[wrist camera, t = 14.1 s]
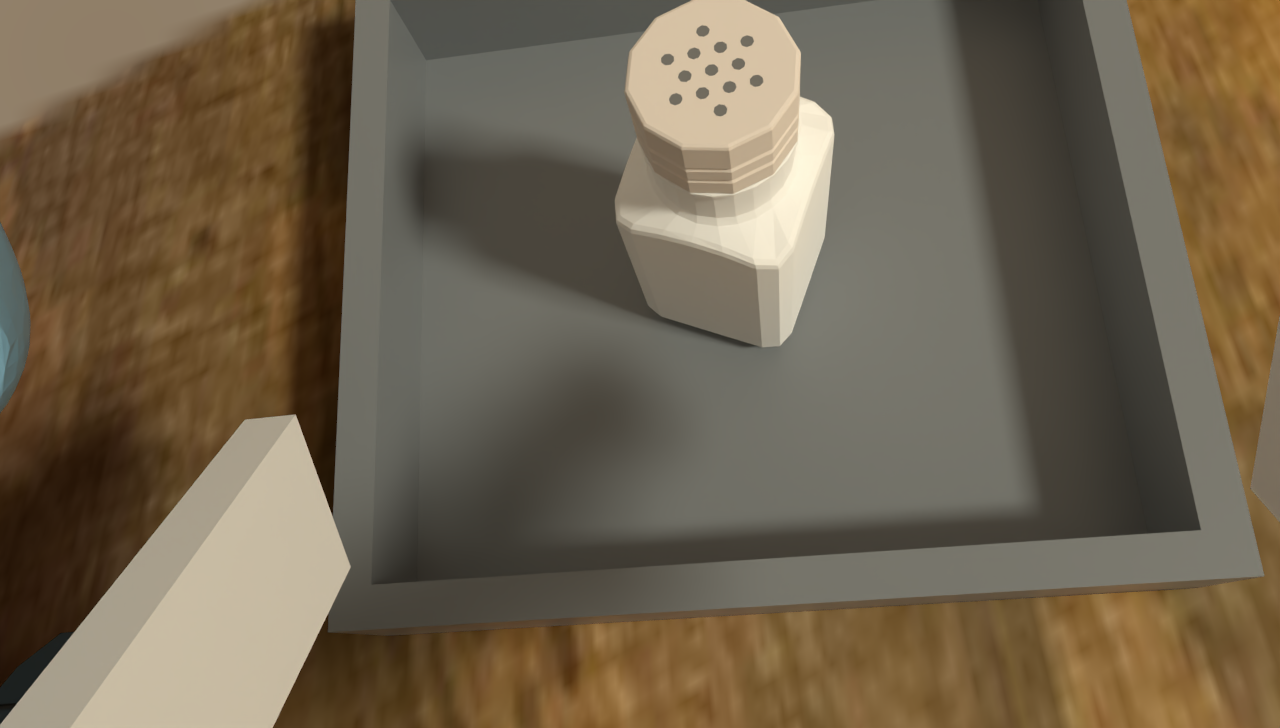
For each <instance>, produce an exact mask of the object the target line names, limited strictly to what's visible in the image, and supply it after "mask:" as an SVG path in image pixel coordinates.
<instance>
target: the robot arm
mask: <svg viewBox="0 0 1280 728" xmlns="http://www.w3.org/2000/svg"><path fill="white" fill-rule="evenodd" d="M29 343H30V312H29V306H28V301H27V295H26V289H25V285H24V280H23V277H22V274H21V270H20V267H19V265H18V262H17V259H16V257H15V254H14V252H13V249H12V247H11V244H10V242H9V240H8V238H7V236H6V233H5V231H4V229H3V227H2V225H1V223H0V413H1V411H2V410H3V409H4V407H5V406H6V405H7V403H8V402H9V400H10V398H11V396H12V395H13V393H14V391H15V389H16V387H17V384H18V382H19V379H20V377H21V375H22V372H23V370H24V367H25V363H26V359H27V355H28V350H29ZM1250 489H1251V490H1252V491H1253V492H1254V493H1255V495H1256V496H1257V497H1258V498H1259V499H1260V500H1261V501H1262V502H1263V504H1264V505H1265V506H1266V507H1267V508H1268V509H1269V510H1270V512H1271V513H1272V514H1273V515H1274V516H1275V517H1276V518H1277V520H1278V521H1279V522H1280V317H1279V323H1278V329H1277V335H1276V341H1275V347H1274V353H1273V359H1272V364H1271V370H1270V376H1269V382H1268V388H1267V394H1266V400H1265V406H1264V411H1263V417H1262V423H1261V429H1260V435H1259V441H1258V447H1257V453H1256V458H1255V464H1254V470H1253V476H1252V482H1251V488H1250ZM350 568H351V566H350V564H349V561H348V558H347V555H346V553H345V550H344V547H343V544H342V541H341V539H340V536H339V533H338V530H337V528H336V525H335V522H334V519H333V517H332V514H331V511H330V508H329V505H328V503H327V500H326V497H325V494H324V492H323V489H322V486H321V483H320V481H319V478H318V475H317V472H316V469H315V467H314V464H313V461H312V458H311V456H310V453H309V450H308V447H307V445H306V442H305V439H304V436H303V433H302V431H301V428H300V425H299V422H298V420H297V417H296V414H295V415H286V416H276V417H267V418H258V419H248V420H244V421H243V423H242V424H241V425H240V426H239V428H238V429H237V430H236V431H235V433H234V434H233V435H232V436H231V438H230V439H229V440H228V441H227V443H226V444H225V445H224V446H223V448H222V449H221V450H220V451H219V453H218V454H217V455H216V456H215V458H214V459H213V460H212V461H211V463H210V464H209V465H208V466H207V468H206V469H205V470H204V471H203V473H202V474H201V475H200V476H199V477H198V479H197V480H196V481H195V482H194V484H193V485H192V486H191V487H190V489H189V490H188V491H187V492H186V494H185V495H184V496H183V497H182V499H181V500H180V501H179V502H178V504H177V505H176V506H175V507H174V509H173V510H172V511H171V512H170V514H169V515H168V516H167V517H166V519H165V520H164V521H163V522H162V524H161V525H160V526H159V527H158V529H157V530H156V531H155V532H154V534H153V535H152V536H151V537H150V539H149V540H148V541H147V542H146V544H145V545H144V546H143V547H142V549H141V550H140V551H139V552H138V554H137V555H136V556H135V557H134V558H133V560H132V561H131V562H130V563H129V565H128V566H127V567H126V568H125V570H124V571H123V572H122V573H121V575H120V576H119V577H118V578H117V580H116V581H115V582H114V583H113V585H112V586H111V587H110V588H109V590H108V591H107V592H106V593H105V595H104V596H103V597H102V598H101V600H100V601H99V602H98V603H97V605H96V606H95V607H94V608H93V610H92V611H91V612H90V613H89V615H88V616H87V617H86V618H85V620H84V621H83V622H82V623H81V625H80V626H79V627H78V628H77V630H76V631H75V632H68V633H60V634H59V635H58V636H57V637H55V638H54V639H53V640H52V641H50V642H49V643H48V644H46V645H45V646H44V647H43V648H41V649H40V650H39V651H37V652H36V653H35V654H34V655H32V656H31V657H30V658H28V659H27V660H26V661H25V662H23V663H22V664H21V665H19V666H18V667H17V668H16V669H15V671H14V672H13V673H12V674H11V675H10V677H9V678H8V679H7V680H6V681H5V682H4V684H3V685H2V686H1V687H0V728H273V726H274V724H275V722H276V720H277V718H278V716H279V714H280V711H281V709H282V707H283V705H284V703H285V701H286V699H287V697H288V695H289V693H290V691H291V689H292V687H293V685H294V683H295V681H296V679H297V677H298V674H299V672H300V670H301V668H302V666H303V664H304V662H305V660H306V658H307V656H308V654H309V652H310V650H311V648H312V646H313V644H314V642H315V640H316V637H317V635H318V633H319V631H320V629H321V627H322V625H323V623H324V621H325V619H326V617H327V615H328V613H329V611H330V609H331V607H332V605H333V603H334V600H335V598H336V596H337V594H338V592H339V590H340V588H341V586H342V584H343V582H344V580H345V578H346V576H347V574H348V572H349V570H350Z"/></svg>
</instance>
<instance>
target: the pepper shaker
mask: <svg viewBox="0 0 1280 728" xmlns="http://www.w3.org/2000/svg"><path fill="white" fill-rule="evenodd" d="M800 67H801V52H800V50H799V49H798V47H797V45H796V44H795V42H794V40H793V39H792V37H791V36H790V34H789V32H788V31H787V29H786V28H785V26H784V24H783V23H782V21H781V19H780V18H779V17H778V16H776V15H774V14H772V13H770V12H768V11H766V10H764V9H762V8H760V7H758V6H756V5H754V4H752V3H750V2H748V1H746V0H691V1H689V2H687V3H685V4H683V5H681V6H679V7H677V8H675V9H673V10H671V11H669V12H666V13H664V14H662V15H660V16H658V17H656V18H655V19H654V20H653V22H652V23H651V24H650V26H649V27H648V28H647V29H646V31H645V32H644V33H643V35H642V36H641V37H640V39H639V40H638V41H637V42H636V44H635V45H634V46H633V48H632V49H631V50H630V52H629V55H628V64H627V73H626V82H625V91H624V94H625V97H626V101H627V104H628V108H629V111H630V114H631V118H632V122H633V125H634V129H635V132H636V136H637V138H636V141H635V143H634V146H633V148H632V151H631V154H630V156H629V159H628V161H627V164H626V167H625V170H624V173H623V176H622V179H621V182H620V185H619V188H618V191H617V194H616V197H615V213H616V224H617V226H618V229H619V232H620V234H621V237H622V239H623V242H624V244H625V247H626V250H627V252H628V255H629V257H630V260H631V263H632V265H633V268H634V270H635V273H636V276H637V278H638V281H639V283H640V286H641V288H642V291H643V294H644V296H645V299H646V301H647V304H648V306H649V307H650V308H651V309H653V310H654V311H655V312H656V313H657V314H659V315H660V316H661V317H664V318H668V319H671V320H674V321H677V322H681V323H684V324H687V325H690V326H694V327H697V328H700V329H704V330H707V331H710V332H713V333H717V334H720V335H723V336H726V337H730V338H733V339H736V340H740V341H743V342H746V343H749V344H753V345H756V346H759V347H773V346H780V345H781V344H782V343H783V342H784V341H785V340H786V339H787V338H788V337H789V336H790V334H791V333H792V331H793V328H794V325H795V322H796V319H797V316H798V313H799V311H800V308H801V305H802V302H803V299H804V296H805V293H806V290H807V287H808V284H809V282H810V279H811V276H812V273H813V270H814V267H815V264H816V261H817V258H818V255H819V252H820V250H821V247H822V244H823V241H824V238H825V229H826V218H827V208H828V197H829V187H830V176H831V166H832V155H833V145H834V129H833V122H832V118H831V116H830V115H828V114H827V113H826V112H825V111H824V110H823V109H822V108H821V107H820V106H819V105H818V104H816V103H815V102H814V101H811V100H808V99H805V98H803V97H800Z"/></svg>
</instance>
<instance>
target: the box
mask: <svg viewBox="0 0 1280 728" xmlns="http://www.w3.org/2000/svg"><path fill="white" fill-rule="evenodd" d="M689 1H691V0H356V7H355V30H354V52H353V75H352V98H351V120H350V143H349V165H348V188H347V210H346V233H345V256H344V278H343V301H342V323H341V346H340V368H339V391H338V414H337V436H336V459H335V481H334V504H333V519H334V522H335V525H336V528H337V530H338V533H339V536H340V539H341V541H342V544H343V547H344V550H345V553H346V555H347V558H348V561H349V564H350V566H351V568H350V570H349V572H348V574H347V576H346V578H345V580H344V582H343V584H342V586H341V588H340V590H339V592H338V594H337V596H336V598H335V600H334V603H333V605H332V607H331V609H330V611H329V617H328V632H331V633H348V634H366V635H383V636H392V635H409V634H426V633H443V632H460V631H477V630H494V629H511V628H527V627H544V626H561V625H578V624H595V623H612V622H629V621H646V620H663V619H680V618H697V617H714V616H731V615H748V614H765V613H782V612H799V611H816V610H833V609H850V608H866V607H883V606H900V605H917V604H934V603H951V602H968V601H985V600H1002V599H1019V598H1036V597H1053V596H1070V595H1087V594H1104V593H1121V592H1138V591H1155V590H1172V589H1189V588H1199V587H1204V586H1210V585H1216V584H1222V583H1228V582H1234V581H1239V580H1245V579H1251V578H1257V577H1263V576H1264V572H1263V568H1262V564H1261V560H1260V556H1259V552H1258V547H1257V543H1256V539H1255V535H1254V531H1253V526H1252V522H1251V518H1250V514H1249V510H1248V506H1247V501H1246V497H1245V493H1244V489H1243V485H1242V481H1241V476H1240V472H1239V468H1238V464H1237V460H1236V456H1235V451H1234V447H1233V443H1232V439H1231V435H1230V431H1229V426H1228V422H1227V418H1226V414H1225V410H1224V405H1223V401H1222V397H1221V393H1220V389H1219V385H1218V380H1217V376H1216V372H1215V368H1214V364H1213V360H1212V355H1211V351H1210V347H1209V343H1208V339H1207V335H1206V330H1205V326H1204V322H1203V318H1202V314H1201V309H1200V305H1199V301H1198V297H1197V293H1196V289H1195V284H1194V280H1193V276H1192V272H1191V268H1190V264H1189V259H1188V255H1187V251H1186V247H1185V243H1184V239H1183V234H1182V230H1181V226H1180V222H1179V218H1178V214H1177V209H1176V205H1175V201H1174V197H1173V193H1172V188H1171V184H1170V180H1169V176H1168V172H1167V168H1166V163H1165V159H1164V155H1163V151H1162V147H1161V143H1160V138H1159V134H1158V130H1157V126H1156V122H1155V118H1154V113H1153V109H1152V105H1151V101H1150V97H1149V93H1148V88H1147V84H1146V80H1145V76H1144V72H1143V67H1142V63H1141V59H1140V55H1139V51H1138V47H1137V42H1136V38H1135V34H1134V30H1133V26H1132V22H1131V17H1130V13H1129V9H1128V5H1127V1H1126V0H746V1H748V2H750V3H752V4H754V5H756V6H758V7H760V8H762V9H764V10H766V11H768V12H770V13H772V14H774V15H776V16H778V17H779V18H780V19H781V21H782V23H783V24H784V26H785V28H786V29H787V31H788V32H789V34H790V36H791V37H792V39H793V40H794V42H795V44H796V45H797V47H798V49H799V50H800V52H801V67H800V97H803V98H805V99H808V100H811V101H814V102H815V103H816V104H818V105H819V106H820V107H821V108H822V109H823V110H824V111H825V112H826V113H827V114H828V115H830V116H831V118H832V122H833V129H834V145H833V155H832V166H831V176H830V187H829V197H828V208H827V218H826V229H825V238H824V241H823V244H822V247H821V250H820V252H819V255H818V258H817V261H816V264H815V267H814V270H813V273H812V276H811V279H810V282H809V284H808V287H807V290H806V293H805V296H804V299H803V302H802V305H801V308H800V311H799V313H798V316H797V319H796V322H795V325H794V328H793V331H792V333H791V334H790V336H789V337H788V338H787V339H786V340H785V341H784V342H783V343H782V344H781V345H780V346H773V347H759V346H756V345H753V344H749V343H746V342H743V341H740V340H736V339H733V338H730V337H726V336H723V335H720V334H717V333H713V332H710V331H707V330H704V329H700V328H697V327H694V326H690V325H687V324H684V323H681V322H677V321H674V320H671V319H668V318H664V317H661V316H660V315H659V314H657V313H656V312H655V311H654V310H653V309H651V308H650V307H649V306H648V304H647V301H646V299H645V296H644V294H643V291H642V288H641V286H640V283H639V281H638V278H637V276H636V273H635V270H634V268H633V265H632V263H631V260H630V257H629V255H628V252H627V250H626V247H625V244H624V242H623V239H622V237H621V234H620V232H619V229H618V226H617V224H616V213H615V197H616V194H617V191H618V188H619V185H620V182H621V179H622V176H623V173H624V170H625V167H626V164H627V161H628V159H629V156H630V154H631V151H632V148H633V146H634V143H635V141H636V138H637V136H636V132H635V129H634V125H633V122H632V118H631V114H630V111H629V108H628V104H627V101H626V97H625V94H624V91H625V82H626V73H627V64H628V55H629V52H630V50H631V49H632V48H633V46H634V45H635V44H636V42H637V41H638V40H639V39H640V37H641V36H642V35H643V33H644V32H645V31H646V29H647V28H648V27H649V26H650V24H651V23H652V22H653V20H654V19H655V18H656V17H658V16H660V15H662V14H664V13H666V12H669V11H671V10H673V9H675V8H677V7H679V6H681V5H683V4H685V3H687V2H689Z"/></svg>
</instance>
